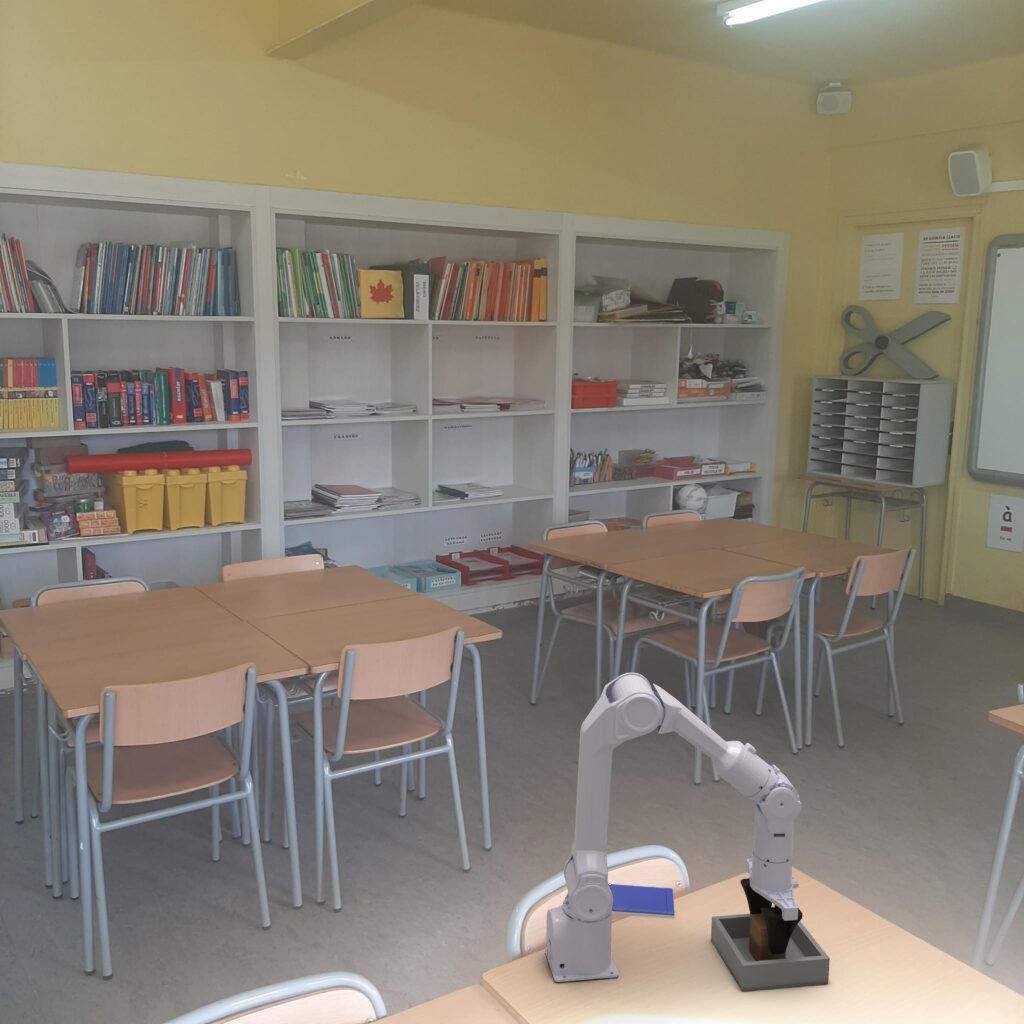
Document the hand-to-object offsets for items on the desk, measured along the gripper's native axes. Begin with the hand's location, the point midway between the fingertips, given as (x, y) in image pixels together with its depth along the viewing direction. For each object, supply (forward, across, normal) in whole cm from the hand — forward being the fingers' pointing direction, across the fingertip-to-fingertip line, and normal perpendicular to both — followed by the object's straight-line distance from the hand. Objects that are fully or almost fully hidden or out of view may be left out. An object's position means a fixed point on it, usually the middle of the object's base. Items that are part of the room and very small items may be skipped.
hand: (768, 939), depth 151 cm
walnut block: (+3, 0, 0) cm, 3 cm away
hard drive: (+4, +19, +15) cm, 25 cm away
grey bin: (+3, 0, 0) cm, 3 cm away
